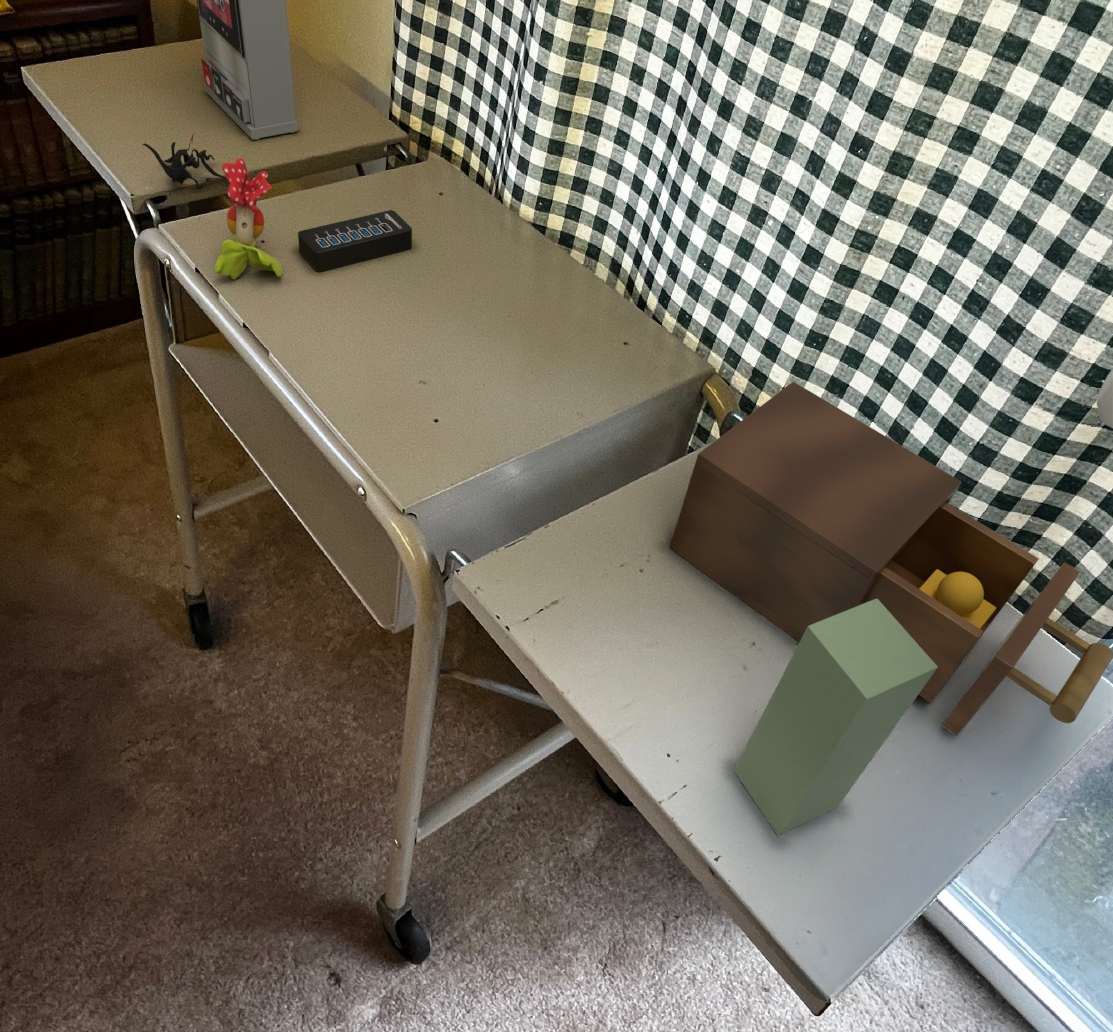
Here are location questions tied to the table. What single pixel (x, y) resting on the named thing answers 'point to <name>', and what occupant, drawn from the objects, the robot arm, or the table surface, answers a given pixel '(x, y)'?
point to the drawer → (950, 637)
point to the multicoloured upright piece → (244, 223)
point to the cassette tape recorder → (249, 63)
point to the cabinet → (804, 508)
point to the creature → (178, 169)
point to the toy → (960, 595)
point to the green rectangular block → (831, 713)
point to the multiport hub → (354, 240)
